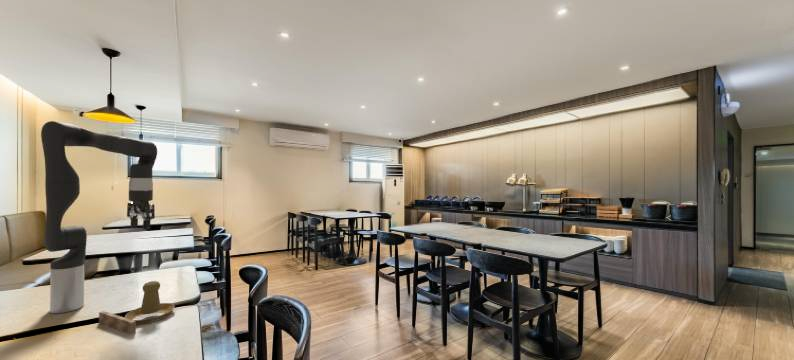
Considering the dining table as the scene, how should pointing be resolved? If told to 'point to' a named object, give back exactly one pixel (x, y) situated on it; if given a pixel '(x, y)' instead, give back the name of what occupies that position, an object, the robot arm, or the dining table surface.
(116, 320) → the walnut divider wall
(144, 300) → the tan tall tapered piece
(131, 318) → the plant saucer
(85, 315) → the dining table surface
